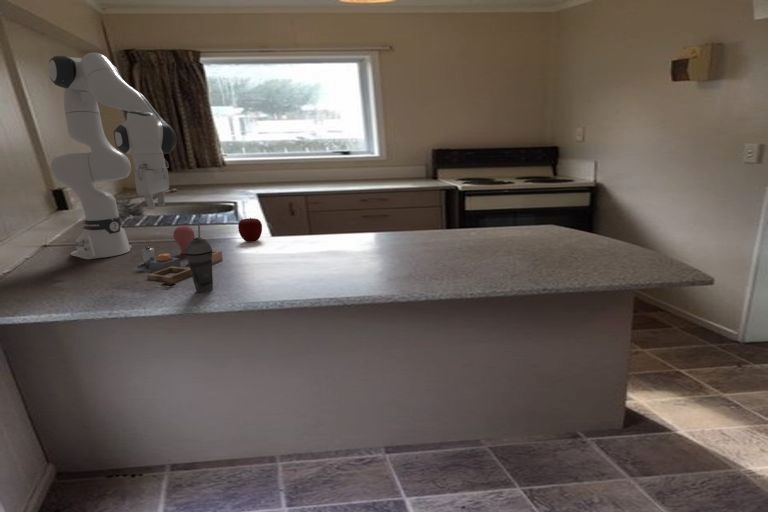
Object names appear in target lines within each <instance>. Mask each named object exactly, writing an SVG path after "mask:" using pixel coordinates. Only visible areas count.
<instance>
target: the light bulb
mask: <svg viewBox="0 0 768 512" xmlns="http://www.w3.org/2000/svg"><path fill="white" fill-rule="evenodd" d="M194 238H195V232H194V229H193V228H192V227H190V226H188V225H179V226H177V227H176V228H175V229H174V230H173V239H174V241H175V243H176V244H177V245H178V246H179V249H180V253H181V254H182V255H186V254H185V253H186V251H185V250H186V246H187V244H188V242H189V241H190V240H192V239H194Z"/></svg>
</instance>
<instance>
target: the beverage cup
mask: <svg viewBox="0 0 768 512" xmlns="http://www.w3.org/2000/svg"><path fill="white" fill-rule="evenodd" d="M212 248H213V247H212V245H211V243H209V241H207V240H206V239H204V238H202V237H201V223H200V222H197V237H194V239H192V240H190V241H189V242H188V244H187V246H186V250H185V251H186V253H185V254H184V255H185V256H186V260H188V261H189V264H188V265H189V268H190V269H191V273H192V276H191V277H192V280H193V283H194V287H195V290H196V291H195V292H196V293H199V294H203V293H204V294H205V293H209V292H212V291H213V290H214V287H213V285H214V281H213V280H214V278H213V263H212V251H213V249H212ZM188 261H187V262H188Z"/></svg>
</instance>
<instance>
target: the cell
mask: <svg viewBox="0 0 768 512" xmlns="http://www.w3.org/2000/svg"><path fill="white" fill-rule="evenodd" d="M141 254H142V258H143V263H145V267H146V268H149V266H150V262H151V261H154V260H157V258H156V253H155V248H154V247H150V246H145V248H142V249H141Z"/></svg>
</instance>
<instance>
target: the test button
mask: <svg viewBox="0 0 768 512" xmlns="http://www.w3.org/2000/svg"><path fill="white" fill-rule="evenodd" d="M170 257H171V253H168V252H167V253H166V252H165V253H161V254H160V253H159V254H158V255H157V258H158V260H159V262H167V261H170V260H171V258H170Z"/></svg>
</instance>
